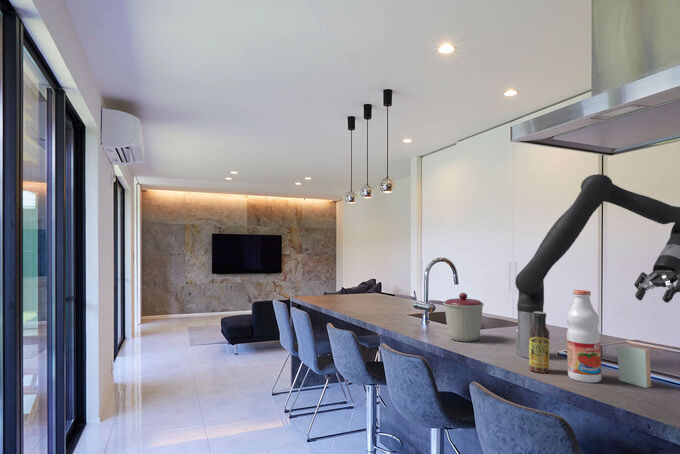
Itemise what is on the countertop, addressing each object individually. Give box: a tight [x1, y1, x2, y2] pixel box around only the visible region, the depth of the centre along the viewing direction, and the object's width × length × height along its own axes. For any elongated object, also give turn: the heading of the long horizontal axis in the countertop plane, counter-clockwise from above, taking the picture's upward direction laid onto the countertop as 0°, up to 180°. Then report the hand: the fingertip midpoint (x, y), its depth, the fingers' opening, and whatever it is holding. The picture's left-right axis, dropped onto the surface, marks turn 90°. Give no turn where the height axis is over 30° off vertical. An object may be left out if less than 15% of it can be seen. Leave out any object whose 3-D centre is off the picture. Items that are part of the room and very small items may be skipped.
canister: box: [442, 292, 485, 343], centre depth 193 cm, size 18×18×21 cm
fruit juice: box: [566, 289, 602, 384], centre depth 136 cm, size 9×9×28 cm
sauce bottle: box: [528, 311, 550, 374], centre depth 144 cm, size 7×6×20 cm
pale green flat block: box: [617, 343, 652, 389], centre depth 131 cm, size 8×2×11 cm, turn 26°
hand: (651, 299), depth 135 cm, fingers open, 8 cm apart
